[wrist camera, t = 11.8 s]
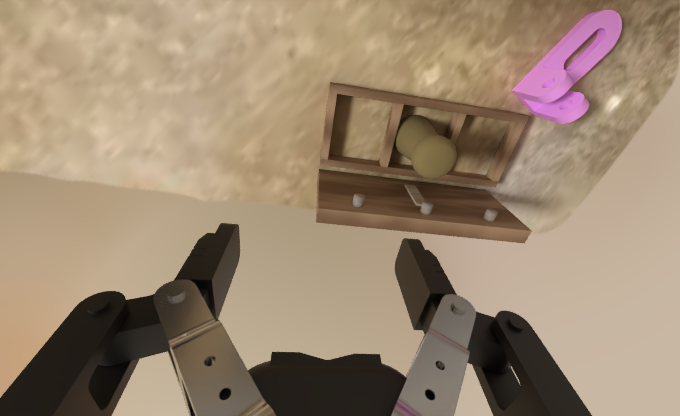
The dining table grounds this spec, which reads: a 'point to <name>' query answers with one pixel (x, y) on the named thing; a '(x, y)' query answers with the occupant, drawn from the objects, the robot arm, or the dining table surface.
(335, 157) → the wooden peg rack
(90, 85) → the dining table surface
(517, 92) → the bracket
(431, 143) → the olive bulbous cylinder
